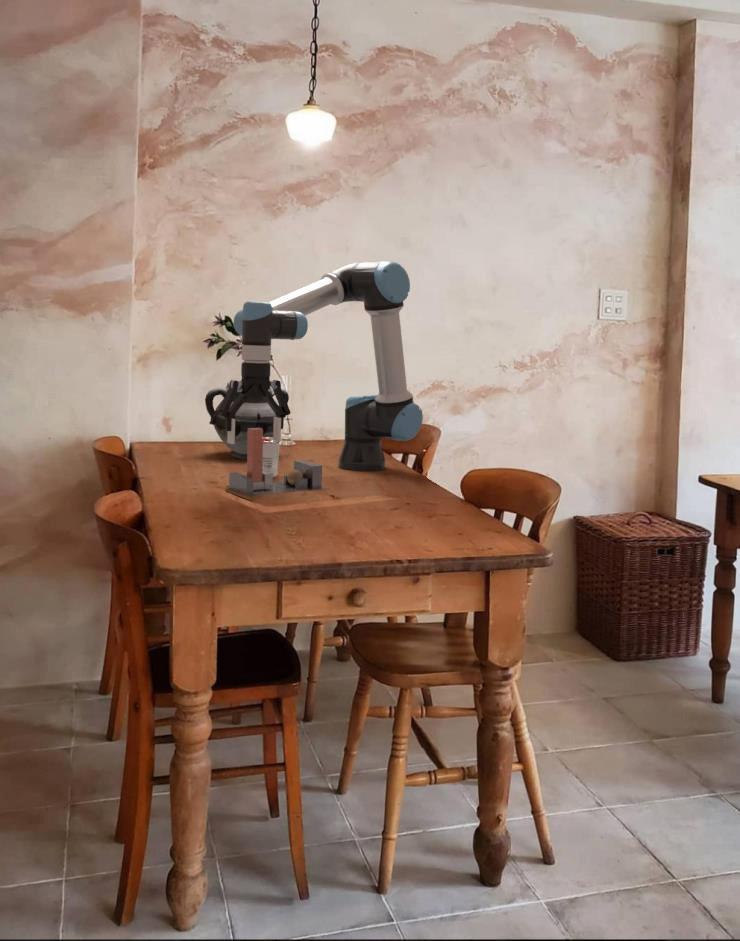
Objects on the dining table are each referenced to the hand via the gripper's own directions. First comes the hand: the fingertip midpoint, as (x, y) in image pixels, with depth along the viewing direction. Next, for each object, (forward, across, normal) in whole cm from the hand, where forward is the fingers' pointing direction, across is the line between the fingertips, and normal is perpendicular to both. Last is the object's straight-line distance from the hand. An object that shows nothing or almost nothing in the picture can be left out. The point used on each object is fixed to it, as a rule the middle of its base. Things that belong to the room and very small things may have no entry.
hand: (254, 442), depth 245 cm
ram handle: (+12, -1, 0) cm, 12 cm away
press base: (+14, -7, 0) cm, 16 cm away
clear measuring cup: (+14, -14, -18) cm, 27 cm away
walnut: (+12, -13, 0) cm, 18 cm away
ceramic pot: (+14, -28, -58) cm, 66 cm away
